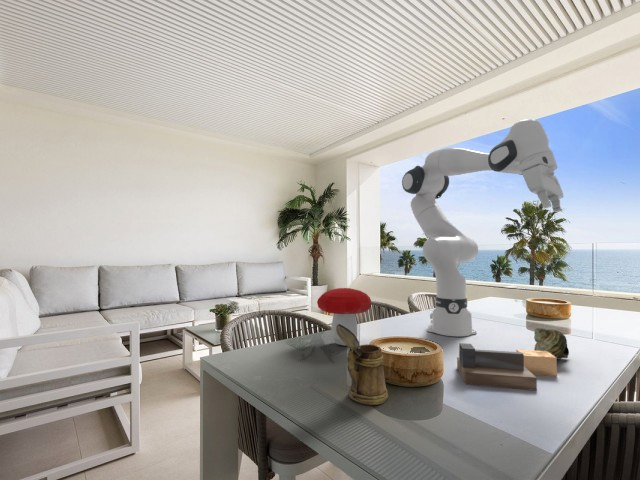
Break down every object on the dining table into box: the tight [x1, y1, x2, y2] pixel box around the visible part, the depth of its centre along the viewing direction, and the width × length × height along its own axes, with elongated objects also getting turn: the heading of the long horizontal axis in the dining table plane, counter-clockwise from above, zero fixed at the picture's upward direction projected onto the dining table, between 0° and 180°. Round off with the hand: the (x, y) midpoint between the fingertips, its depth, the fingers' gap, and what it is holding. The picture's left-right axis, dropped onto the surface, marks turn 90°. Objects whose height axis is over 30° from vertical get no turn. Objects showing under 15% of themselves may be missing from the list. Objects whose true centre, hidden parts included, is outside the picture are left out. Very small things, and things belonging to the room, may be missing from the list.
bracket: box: [456, 342, 538, 391], centre depth 89 cm, size 12×16×8 cm
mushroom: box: [316, 287, 372, 346], centre depth 120 cm, size 20×19×20 cm
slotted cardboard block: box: [515, 349, 558, 377], centre depth 94 cm, size 6×8×5 cm
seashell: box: [533, 327, 570, 360], centre depth 103 cm, size 11×11×10 cm
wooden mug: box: [336, 324, 389, 406], centre depth 76 cm, size 9×14×18 cm, turn 127°
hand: (552, 209), depth 100 cm, fingers open, 8 cm apart
